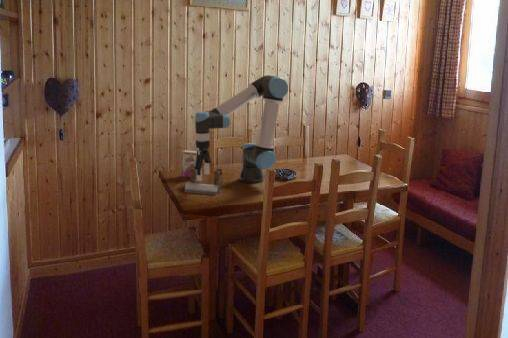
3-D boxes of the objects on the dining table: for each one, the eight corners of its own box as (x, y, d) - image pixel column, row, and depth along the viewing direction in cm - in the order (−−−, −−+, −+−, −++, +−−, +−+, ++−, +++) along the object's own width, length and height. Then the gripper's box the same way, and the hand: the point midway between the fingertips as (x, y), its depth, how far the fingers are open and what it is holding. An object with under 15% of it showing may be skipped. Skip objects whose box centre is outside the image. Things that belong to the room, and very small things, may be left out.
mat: (220, 191, 287) (220, 190, 287) (216, 195, 280) (216, 194, 280) (188, 188, 291) (188, 187, 291) (183, 192, 283) (183, 191, 283)
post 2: (222, 186, 298) (222, 168, 295) (218, 189, 291) (218, 171, 288) (217, 185, 298) (217, 168, 296) (213, 188, 291) (213, 171, 289)
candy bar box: (181, 177, 315) (181, 151, 311) (185, 175, 319) (185, 149, 315) (197, 179, 311) (198, 153, 307) (201, 177, 316) (201, 151, 312)
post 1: (199, 184, 300) (199, 166, 298) (195, 187, 294) (195, 169, 291) (194, 183, 301) (194, 166, 299) (190, 186, 294) (190, 169, 292)
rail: (220, 191, 285) (220, 185, 284) (218, 193, 282) (218, 187, 281) (186, 188, 289) (186, 182, 288) (184, 189, 286) (184, 183, 285)
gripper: (202, 135, 291) (203, 171, 296) (188, 144, 267) (189, 182, 273) (215, 136, 289) (216, 172, 295) (202, 145, 266) (202, 183, 271)
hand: (203, 177), depth 284 cm, fingers open, 13 cm apart
